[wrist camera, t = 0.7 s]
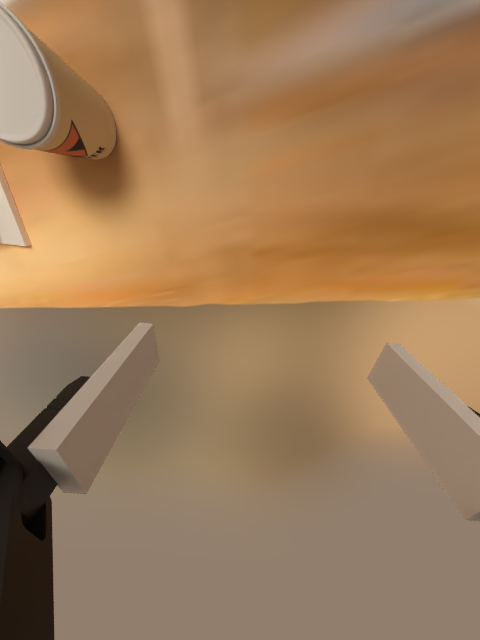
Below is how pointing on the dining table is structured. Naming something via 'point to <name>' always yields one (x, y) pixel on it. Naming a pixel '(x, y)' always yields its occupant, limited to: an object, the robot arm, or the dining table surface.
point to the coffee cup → (48, 99)
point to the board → (10, 218)
